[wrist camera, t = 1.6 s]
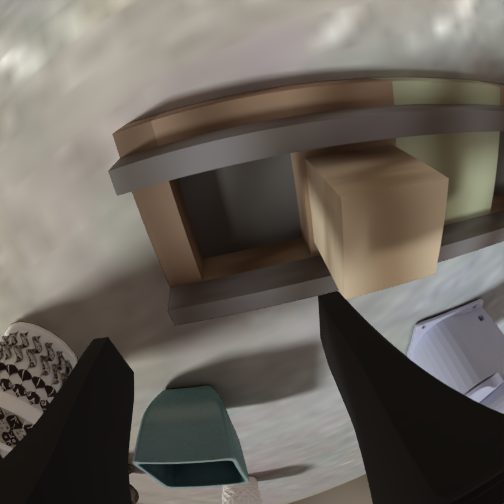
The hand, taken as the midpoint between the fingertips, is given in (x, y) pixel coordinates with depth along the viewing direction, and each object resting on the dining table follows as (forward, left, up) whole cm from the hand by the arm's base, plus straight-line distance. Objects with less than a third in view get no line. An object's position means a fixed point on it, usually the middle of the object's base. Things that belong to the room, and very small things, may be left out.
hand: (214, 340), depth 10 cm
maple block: (-8, 0, -8) cm, 11 cm away
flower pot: (+7, +20, -11) cm, 24 cm away
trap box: (-12, 0, -10) cm, 16 cm away
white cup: (+10, +55, -11) cm, 57 cm away
